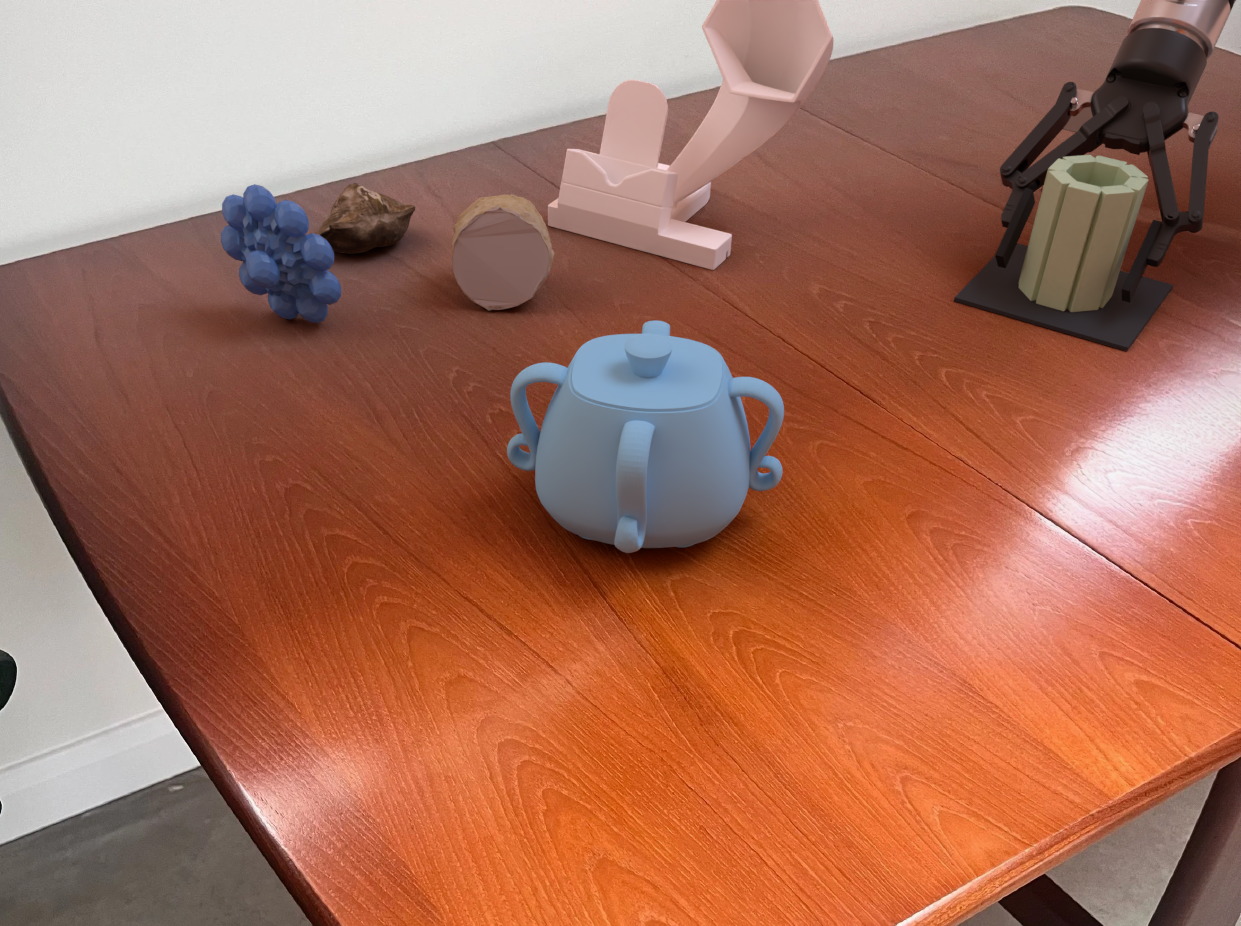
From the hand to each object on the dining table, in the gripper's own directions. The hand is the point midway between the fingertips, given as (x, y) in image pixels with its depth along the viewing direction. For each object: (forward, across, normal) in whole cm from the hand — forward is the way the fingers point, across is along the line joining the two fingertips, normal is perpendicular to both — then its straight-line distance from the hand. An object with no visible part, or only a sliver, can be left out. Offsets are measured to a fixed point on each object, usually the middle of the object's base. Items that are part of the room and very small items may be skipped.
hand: (1061, 278), depth 115 cm
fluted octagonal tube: (0, 0, +4) cm, 4 cm away
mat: (0, 0, +4) cm, 4 cm away
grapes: (+32, -56, -28) cm, 70 cm away
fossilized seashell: (+21, -60, -16) cm, 66 cm away
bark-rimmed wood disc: (+21, -43, -16) cm, 50 cm away
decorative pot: (+35, -15, -31) cm, 50 cm away
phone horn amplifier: (+5, -36, -1) cm, 36 cm away
